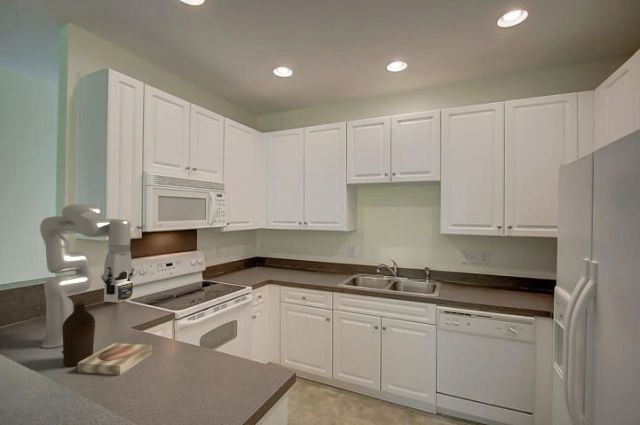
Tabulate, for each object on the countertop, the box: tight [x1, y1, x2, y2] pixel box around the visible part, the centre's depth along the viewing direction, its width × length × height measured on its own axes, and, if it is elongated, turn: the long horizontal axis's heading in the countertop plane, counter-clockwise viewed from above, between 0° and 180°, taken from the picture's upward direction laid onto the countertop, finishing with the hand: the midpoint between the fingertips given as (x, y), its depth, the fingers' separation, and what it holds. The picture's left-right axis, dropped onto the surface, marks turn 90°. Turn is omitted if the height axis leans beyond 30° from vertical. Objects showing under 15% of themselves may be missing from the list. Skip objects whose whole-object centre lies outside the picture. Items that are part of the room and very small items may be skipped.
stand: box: [77, 342, 153, 376], centre depth 122 cm, size 18×18×4 cm
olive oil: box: [61, 299, 96, 368], centre depth 122 cm, size 11×11×25 cm
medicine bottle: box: [103, 271, 134, 303], centre depth 122 cm, size 7×7×12 cm
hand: (118, 291), depth 122 cm, fingers closed on medicine bottle, 7 cm apart
